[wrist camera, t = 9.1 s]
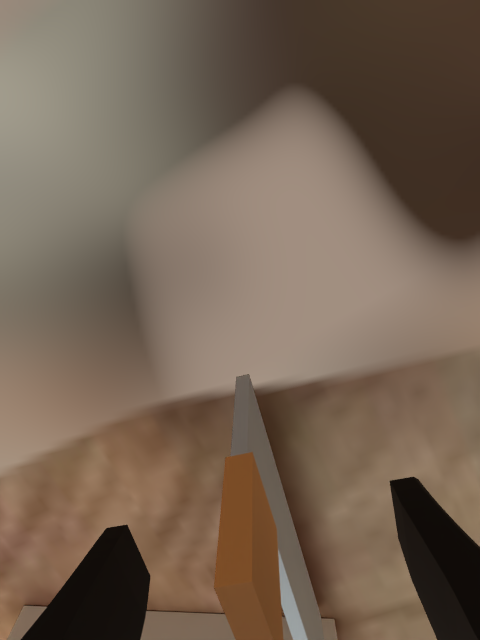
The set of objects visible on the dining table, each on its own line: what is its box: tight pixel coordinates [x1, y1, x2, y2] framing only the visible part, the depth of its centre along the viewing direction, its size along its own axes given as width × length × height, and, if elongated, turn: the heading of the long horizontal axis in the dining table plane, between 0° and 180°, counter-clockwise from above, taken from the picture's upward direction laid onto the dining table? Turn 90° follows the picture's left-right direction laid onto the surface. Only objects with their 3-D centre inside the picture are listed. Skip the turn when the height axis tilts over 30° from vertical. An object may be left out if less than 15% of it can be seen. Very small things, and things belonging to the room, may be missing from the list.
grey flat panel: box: [214, 374, 324, 640], centre depth 15 cm, size 14×1×9 cm, turn 15°
